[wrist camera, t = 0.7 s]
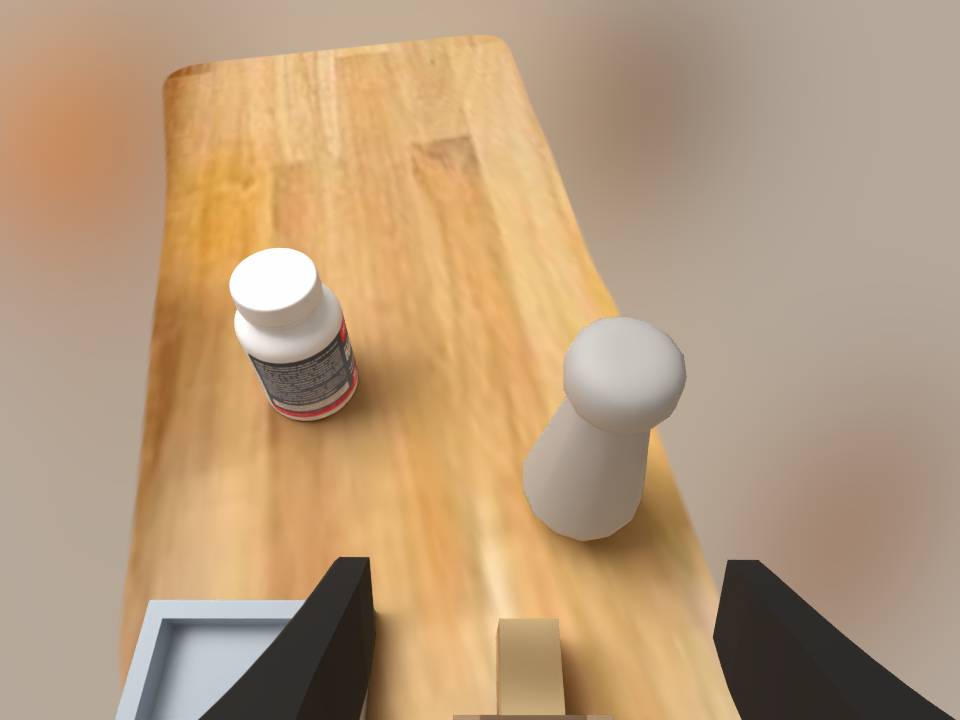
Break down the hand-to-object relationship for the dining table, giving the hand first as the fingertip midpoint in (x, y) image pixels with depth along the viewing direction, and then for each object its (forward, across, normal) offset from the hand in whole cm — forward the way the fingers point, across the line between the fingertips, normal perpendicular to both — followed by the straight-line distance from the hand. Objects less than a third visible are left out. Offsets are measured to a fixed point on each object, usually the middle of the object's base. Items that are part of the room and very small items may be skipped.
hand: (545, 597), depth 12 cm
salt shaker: (+17, -3, +10) cm, 20 cm away
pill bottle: (+23, +11, +6) cm, 26 cm away
